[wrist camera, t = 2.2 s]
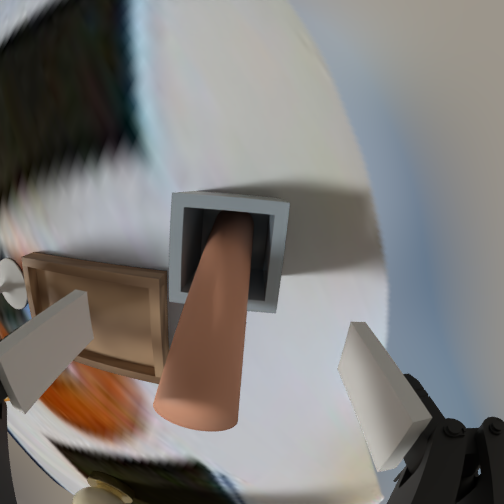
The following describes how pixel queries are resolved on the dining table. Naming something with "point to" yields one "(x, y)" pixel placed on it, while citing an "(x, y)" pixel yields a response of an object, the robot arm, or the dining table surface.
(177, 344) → the tan rounded bar
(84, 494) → the lamp
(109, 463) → the dining table surface
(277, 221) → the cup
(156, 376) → the tray
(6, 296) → the wineglass
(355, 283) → the dining table surface
